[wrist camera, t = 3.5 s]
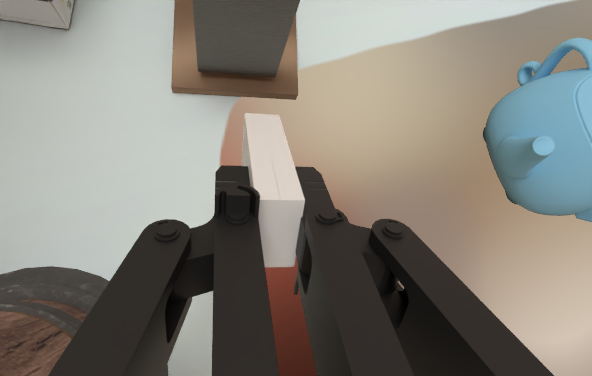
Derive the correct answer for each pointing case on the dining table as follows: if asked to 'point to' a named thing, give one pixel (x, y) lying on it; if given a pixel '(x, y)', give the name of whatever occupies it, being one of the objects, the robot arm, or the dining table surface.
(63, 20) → the tea box
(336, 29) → the dining table surface
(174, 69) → the tube stand
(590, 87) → the teapot
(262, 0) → the grey piece
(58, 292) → the tankard
